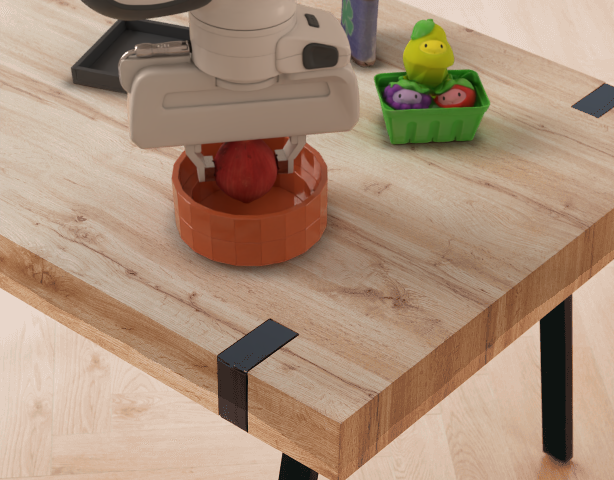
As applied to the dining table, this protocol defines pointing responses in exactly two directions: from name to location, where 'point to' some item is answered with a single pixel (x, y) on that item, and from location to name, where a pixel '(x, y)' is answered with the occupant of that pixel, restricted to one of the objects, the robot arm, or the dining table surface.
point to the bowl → (252, 211)
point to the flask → (361, 29)
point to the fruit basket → (430, 92)
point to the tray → (121, 50)
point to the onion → (245, 169)
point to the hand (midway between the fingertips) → (245, 174)
